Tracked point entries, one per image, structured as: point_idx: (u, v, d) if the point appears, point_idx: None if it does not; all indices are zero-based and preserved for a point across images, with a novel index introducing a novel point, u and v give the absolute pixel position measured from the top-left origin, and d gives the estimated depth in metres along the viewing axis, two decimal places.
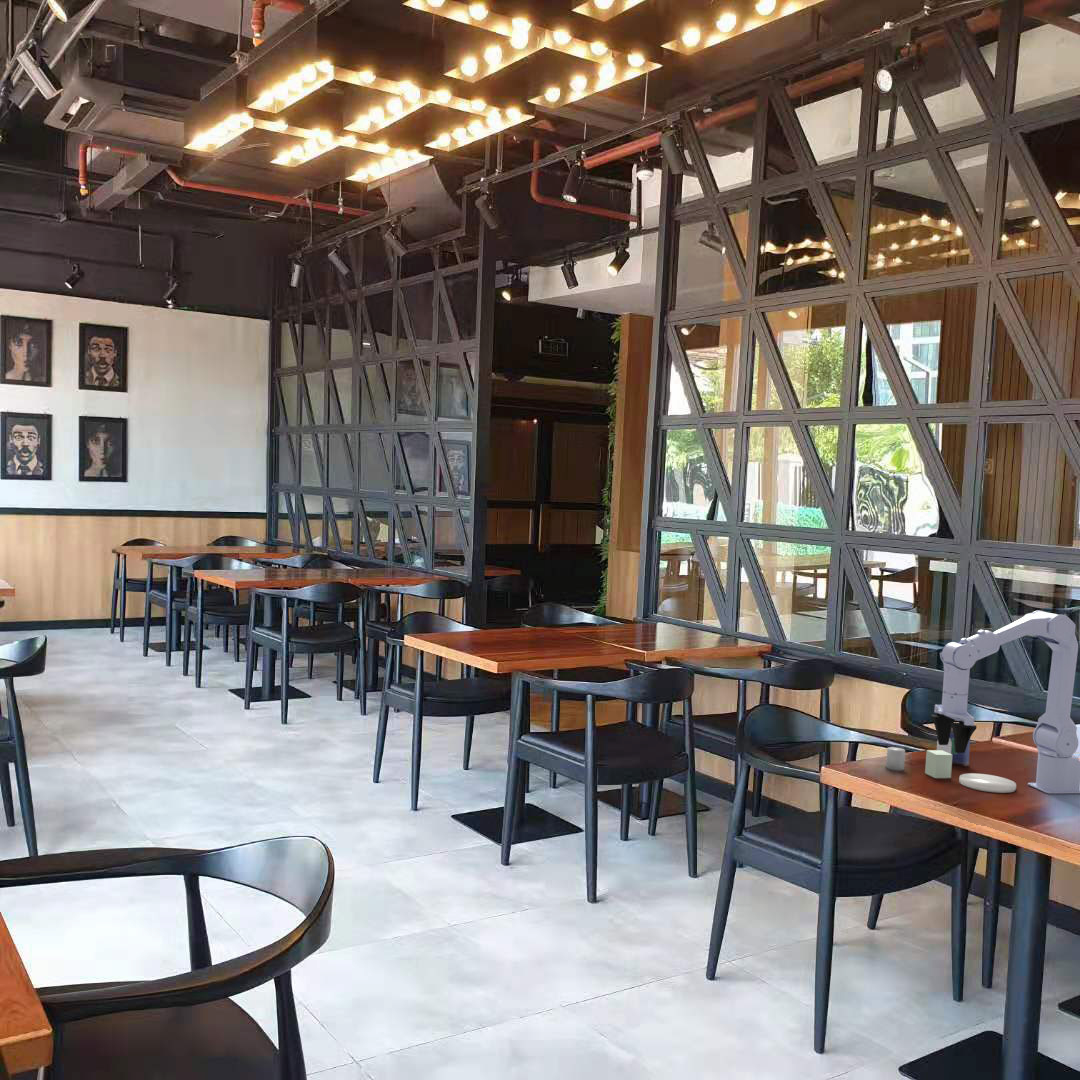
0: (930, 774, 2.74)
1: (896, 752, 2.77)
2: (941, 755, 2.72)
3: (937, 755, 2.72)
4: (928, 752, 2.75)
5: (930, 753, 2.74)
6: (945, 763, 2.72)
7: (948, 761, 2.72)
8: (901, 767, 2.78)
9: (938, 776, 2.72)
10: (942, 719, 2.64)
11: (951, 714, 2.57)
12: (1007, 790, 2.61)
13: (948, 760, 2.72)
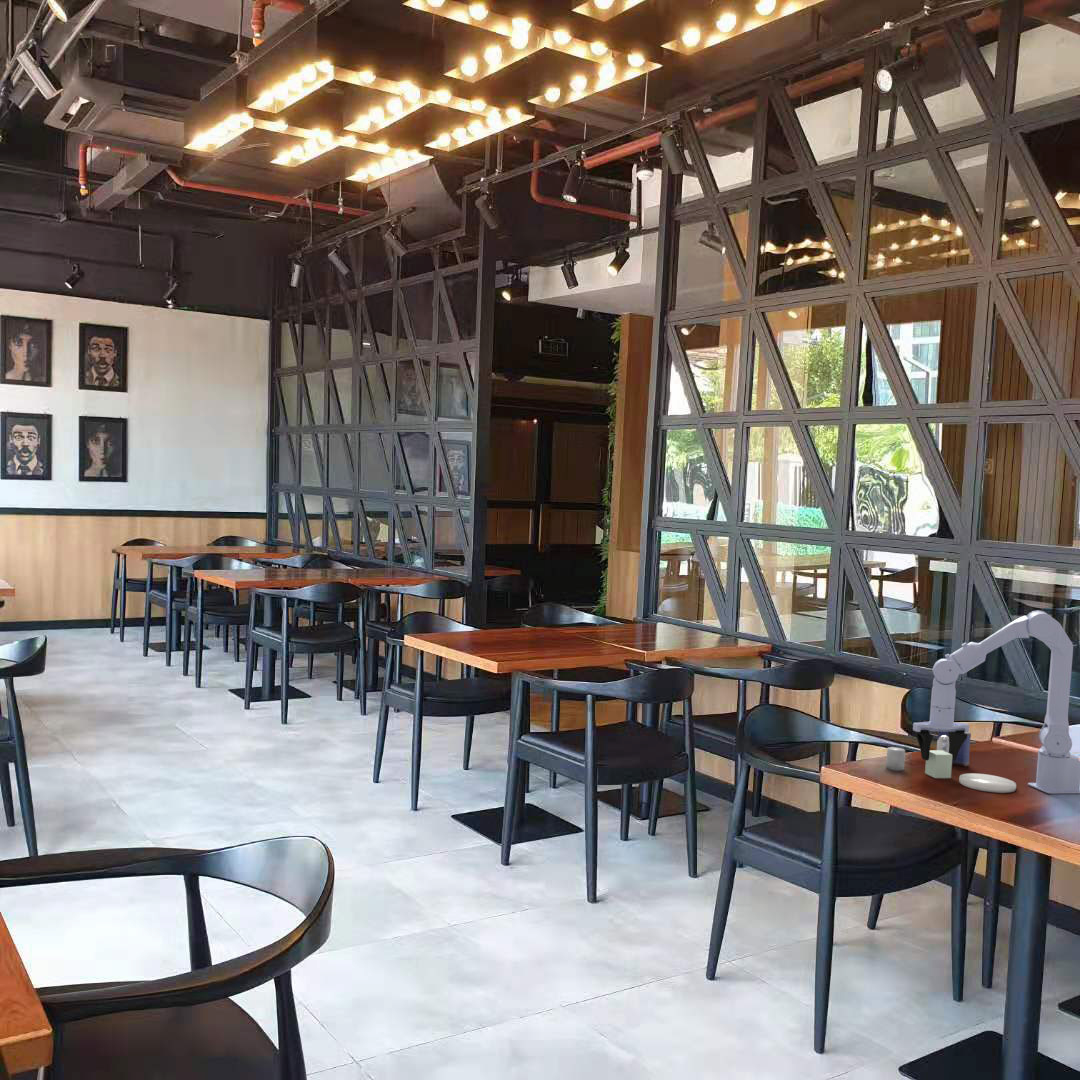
0: (930, 774, 2.74)
1: (896, 752, 2.77)
2: (941, 755, 2.72)
3: (937, 755, 2.72)
4: None
5: (930, 753, 2.74)
6: (945, 763, 2.72)
7: (948, 761, 2.72)
8: (901, 767, 2.78)
9: (938, 776, 2.72)
10: (952, 734, 2.75)
11: None
12: (1007, 790, 2.61)
13: (948, 760, 2.72)
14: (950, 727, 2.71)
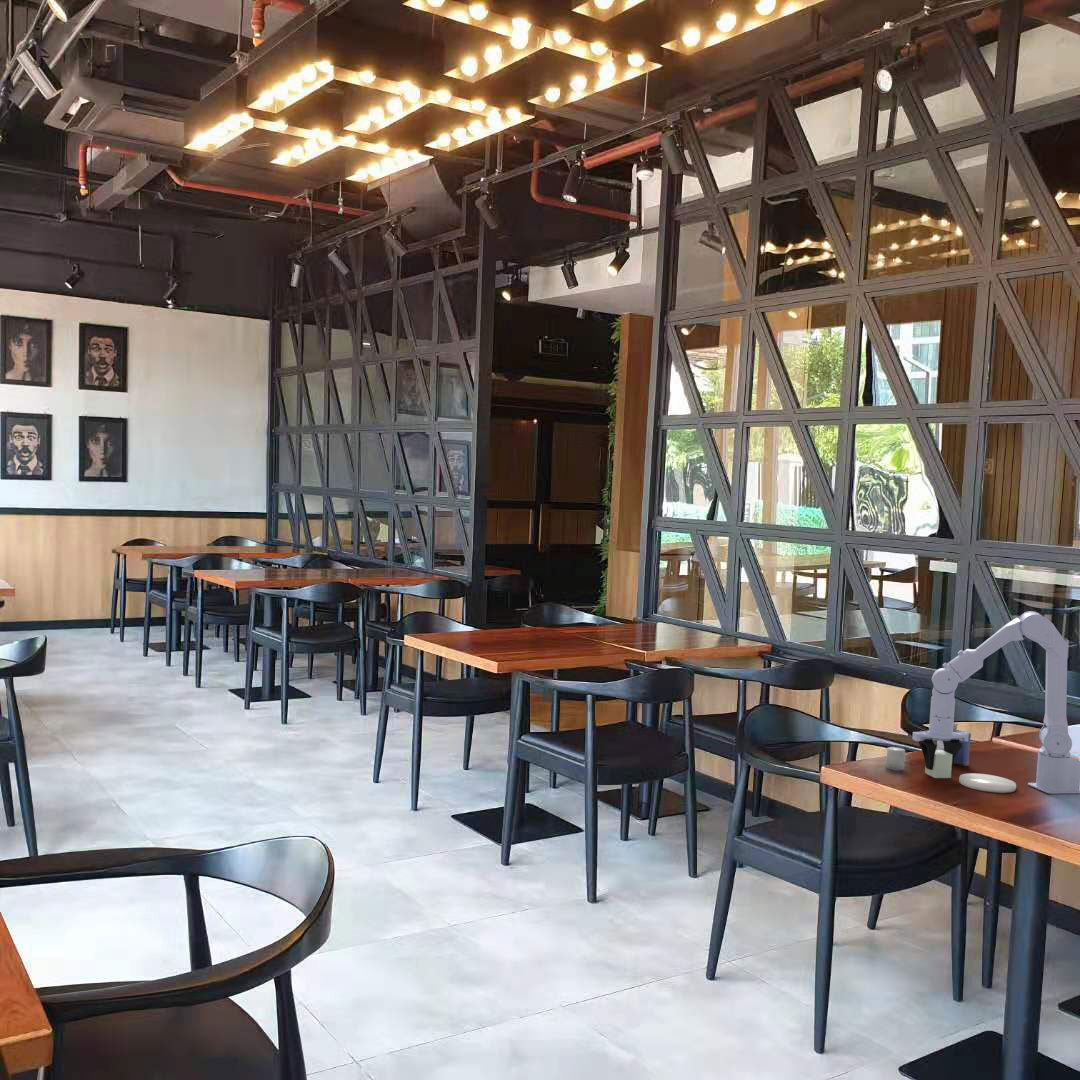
0: (930, 774, 2.74)
1: (896, 752, 2.77)
2: (941, 755, 2.72)
3: (937, 755, 2.72)
4: None
5: None
6: (945, 762, 2.72)
7: (948, 761, 2.72)
8: (901, 767, 2.78)
9: (938, 776, 2.72)
10: (947, 743, 2.75)
11: None
12: (1007, 790, 2.61)
13: (948, 760, 2.72)
14: (950, 737, 2.71)
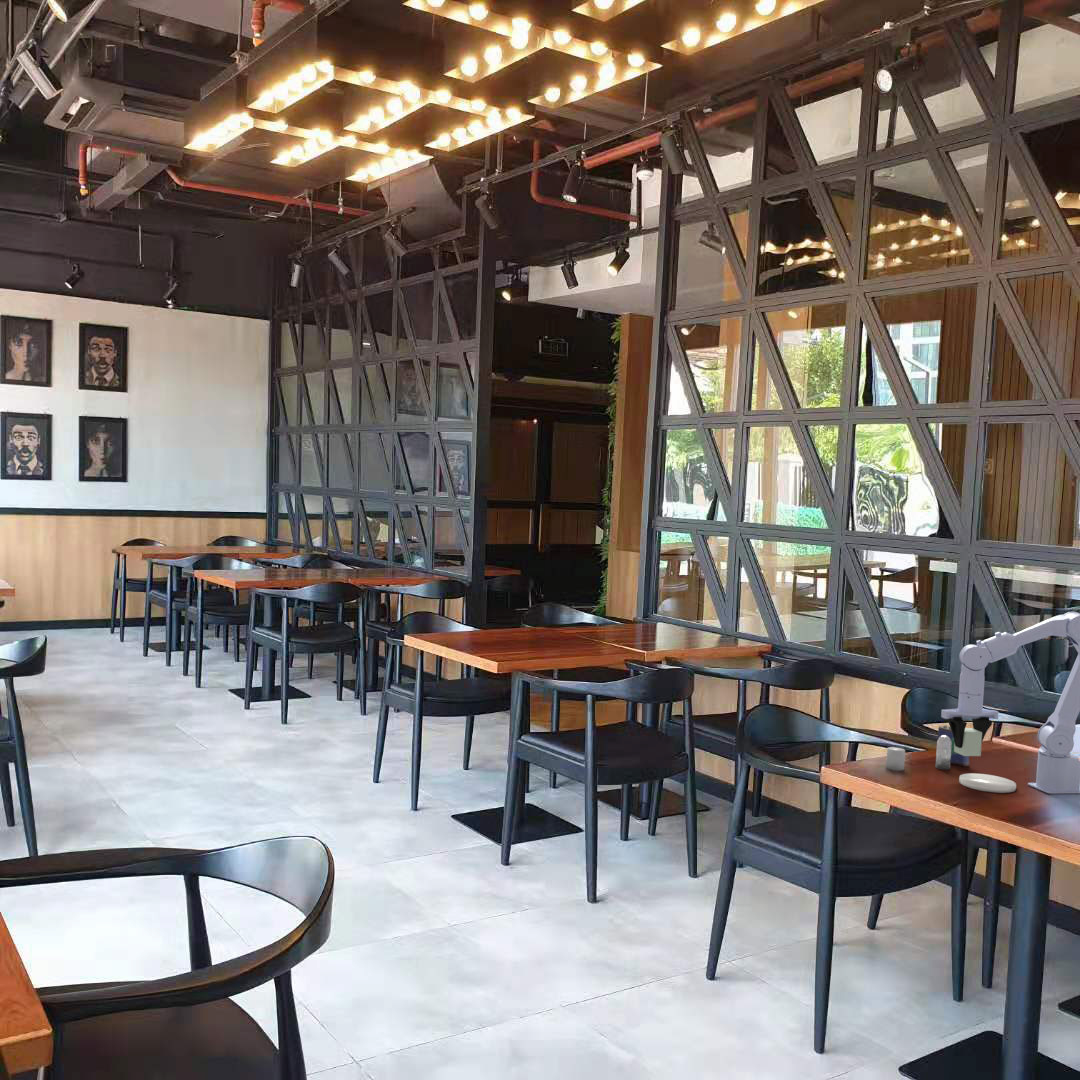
0: (959, 752, 2.69)
1: (896, 752, 2.77)
2: (971, 732, 2.67)
3: (966, 732, 2.67)
4: None
5: None
6: (975, 740, 2.68)
7: (978, 739, 2.68)
8: (901, 767, 2.78)
9: (968, 754, 2.67)
10: (976, 721, 2.71)
11: None
12: (1007, 790, 2.61)
13: (978, 737, 2.68)
14: (979, 714, 2.67)
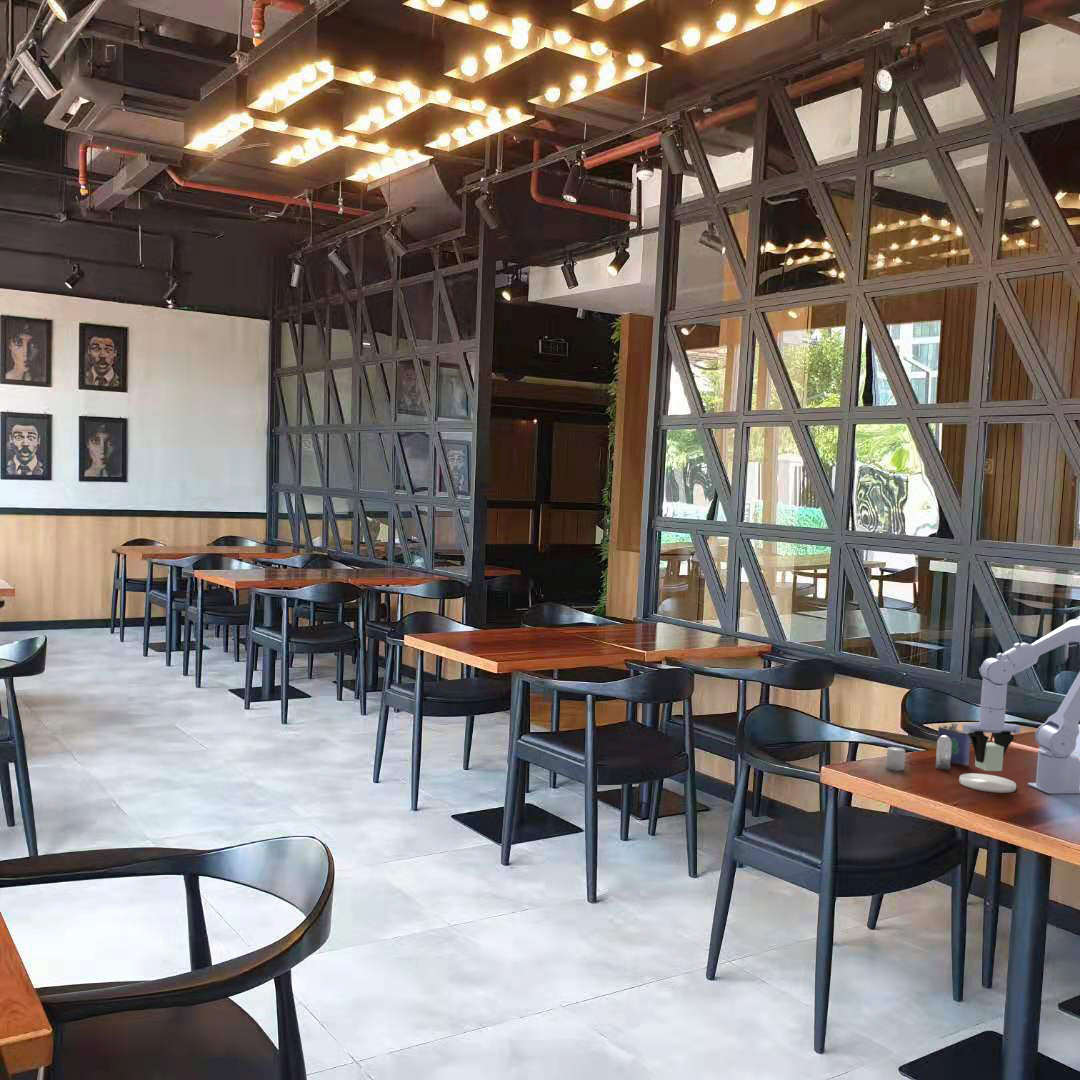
0: (980, 767, 2.66)
1: (896, 752, 2.77)
2: (992, 747, 2.64)
3: (988, 747, 2.64)
4: None
5: None
6: (997, 755, 2.65)
7: (999, 753, 2.65)
8: (901, 767, 2.78)
9: (989, 769, 2.64)
10: (997, 736, 2.68)
11: None
12: (1007, 790, 2.61)
13: (1000, 752, 2.65)
14: (1001, 729, 2.64)
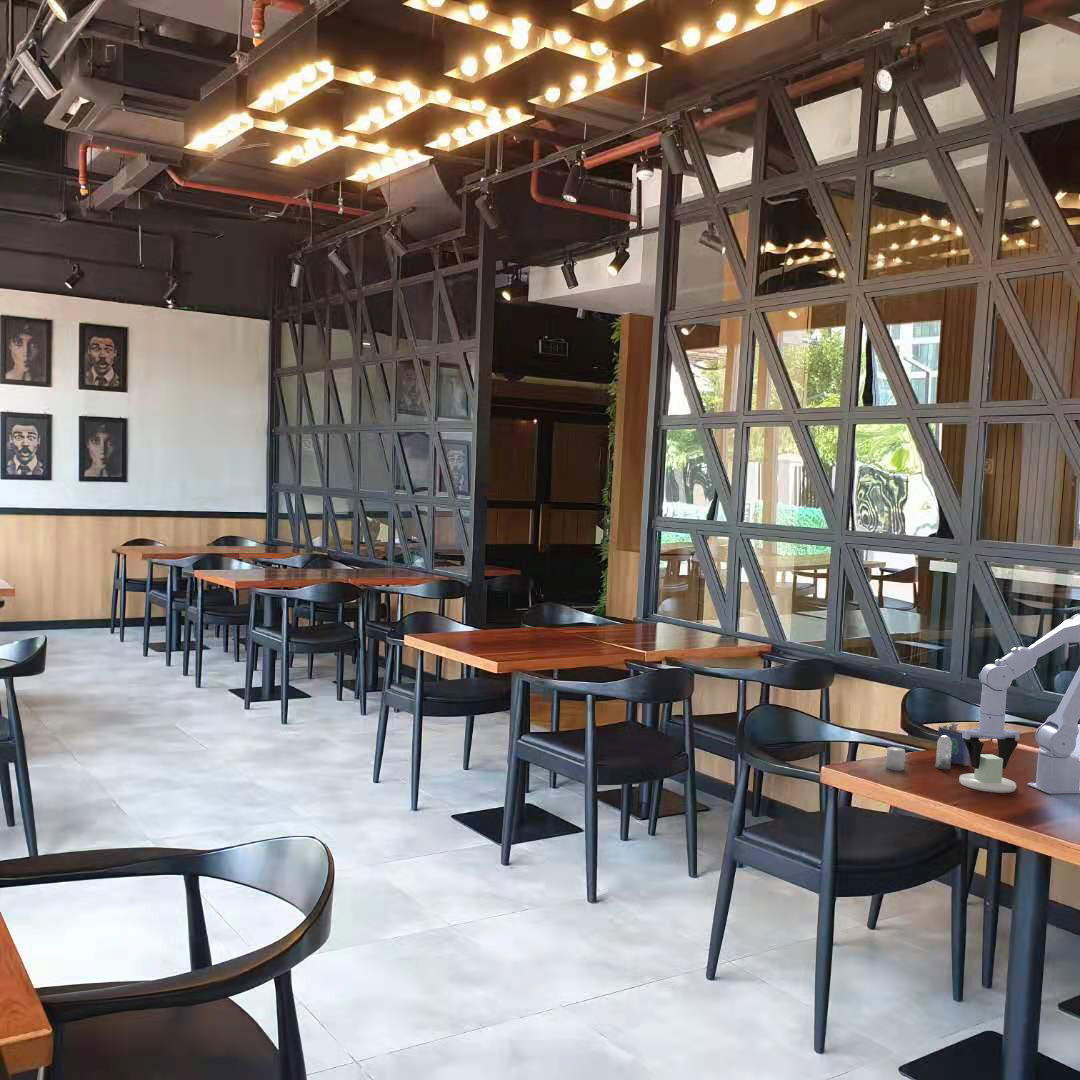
0: (980, 779, 2.66)
1: (896, 752, 2.77)
2: (991, 759, 2.64)
3: (987, 759, 2.64)
4: None
5: (980, 757, 2.67)
6: (996, 767, 2.65)
7: (999, 765, 2.65)
8: (901, 767, 2.78)
9: (988, 781, 2.65)
10: (1001, 742, 2.68)
11: None
12: (1007, 790, 2.61)
13: (999, 764, 2.65)
14: (1001, 735, 2.64)
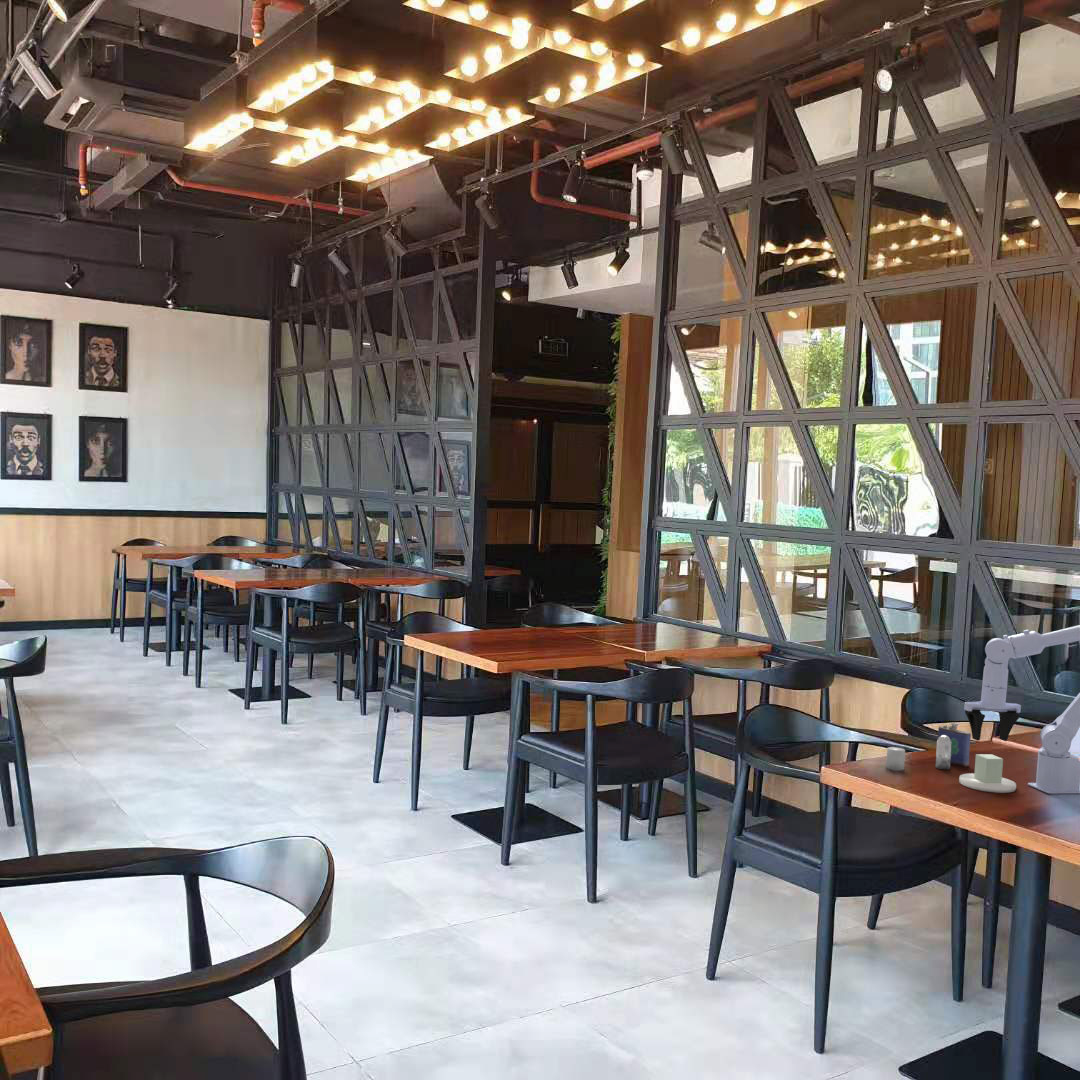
0: (980, 779, 2.66)
1: (896, 752, 2.77)
2: (991, 759, 2.64)
3: (987, 759, 2.64)
4: (977, 756, 2.68)
5: (980, 757, 2.67)
6: (996, 767, 2.65)
7: (999, 765, 2.65)
8: (901, 767, 2.78)
9: (988, 781, 2.65)
10: (1003, 714, 2.72)
11: None
12: (1007, 790, 2.61)
13: (999, 764, 2.65)
14: (1002, 707, 2.68)
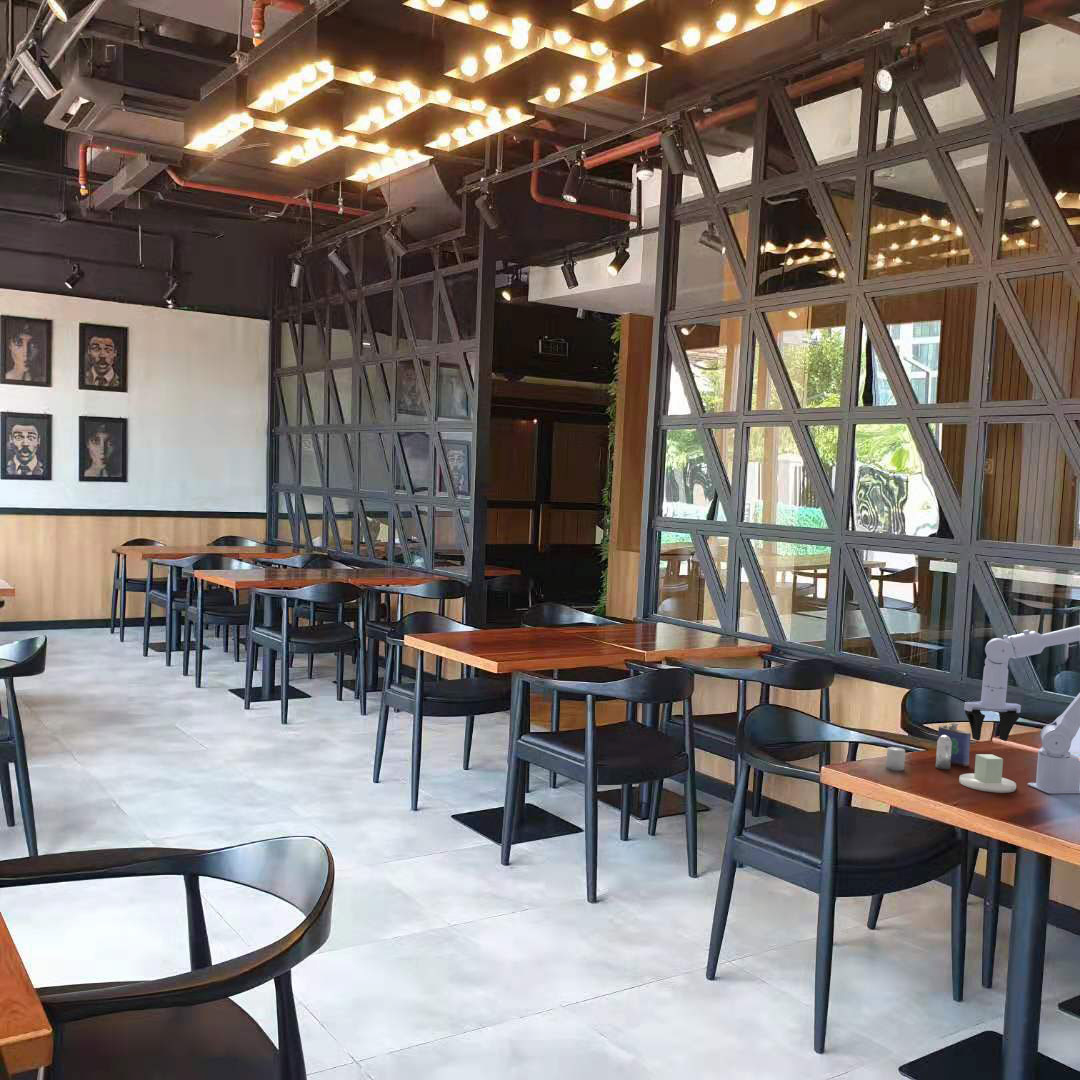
0: (980, 779, 2.66)
1: (896, 752, 2.77)
2: (991, 759, 2.64)
3: (987, 759, 2.64)
4: (977, 756, 2.68)
5: (980, 757, 2.67)
6: (996, 767, 2.65)
7: (999, 765, 2.65)
8: (901, 767, 2.78)
9: (988, 781, 2.65)
10: (1003, 714, 2.72)
11: None
12: (1007, 790, 2.61)
13: (999, 764, 2.65)
14: (1002, 707, 2.68)
